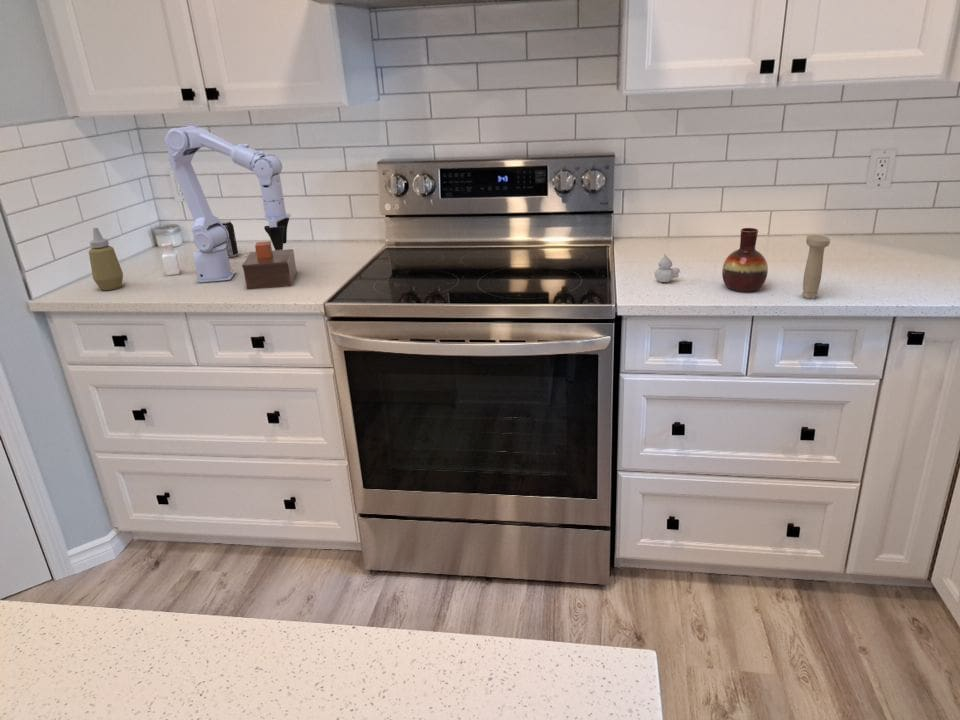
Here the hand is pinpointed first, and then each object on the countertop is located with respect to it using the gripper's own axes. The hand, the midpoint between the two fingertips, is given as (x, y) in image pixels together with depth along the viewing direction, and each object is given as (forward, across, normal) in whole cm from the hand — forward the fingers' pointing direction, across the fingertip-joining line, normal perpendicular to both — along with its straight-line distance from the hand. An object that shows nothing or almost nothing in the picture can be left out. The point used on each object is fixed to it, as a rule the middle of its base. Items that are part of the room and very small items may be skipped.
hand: (280, 246), depth 202 cm
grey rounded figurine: (+11, -30, -106) cm, 111 cm away
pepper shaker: (+10, +16, +37) cm, 42 cm away
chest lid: (+3, 0, +4) cm, 5 cm away
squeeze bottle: (+10, +6, +52) cm, 53 cm away
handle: (+11, -51, -135) cm, 145 cm away
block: (+3, 0, +5) cm, 6 cm away
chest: (+10, 0, +4) cm, 11 cm away
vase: (+11, -40, -123) cm, 130 cm away
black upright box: (+10, +34, +23) cm, 42 cm away
